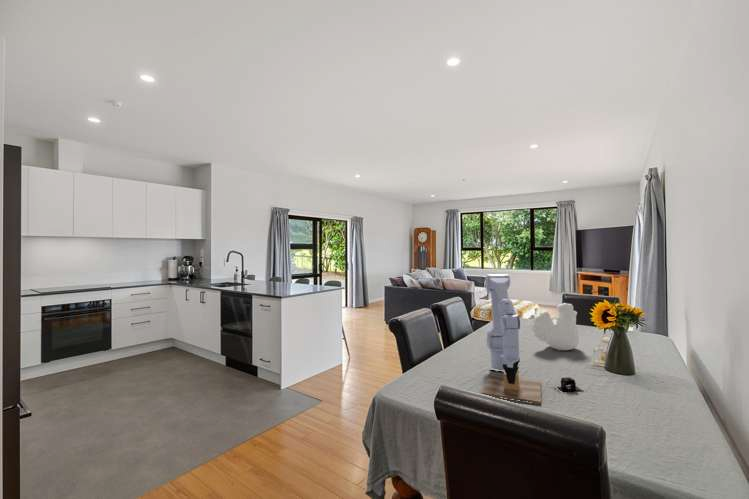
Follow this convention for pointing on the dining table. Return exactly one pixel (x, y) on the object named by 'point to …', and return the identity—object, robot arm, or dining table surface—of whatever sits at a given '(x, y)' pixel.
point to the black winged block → (571, 388)
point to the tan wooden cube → (511, 386)
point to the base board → (526, 392)
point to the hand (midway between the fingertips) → (512, 380)
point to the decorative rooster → (557, 328)
